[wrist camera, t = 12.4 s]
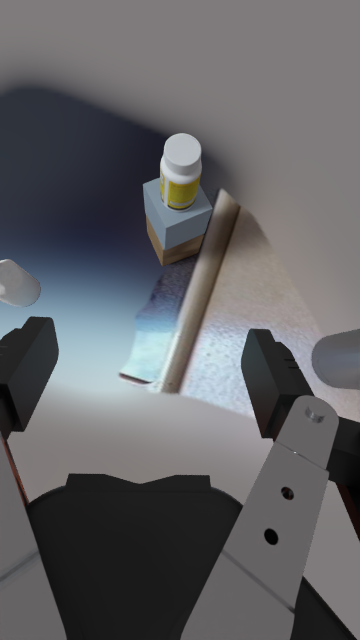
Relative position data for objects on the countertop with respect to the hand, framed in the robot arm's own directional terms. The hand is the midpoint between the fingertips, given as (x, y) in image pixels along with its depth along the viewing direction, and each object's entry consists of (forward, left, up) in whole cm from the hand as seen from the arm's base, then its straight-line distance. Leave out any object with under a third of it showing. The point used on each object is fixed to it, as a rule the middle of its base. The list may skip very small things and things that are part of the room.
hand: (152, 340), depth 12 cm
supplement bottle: (-11, -19, -23) cm, 32 cm away
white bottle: (+16, -20, -37) cm, 45 cm away
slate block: (-11, -19, -30) cm, 37 cm away
